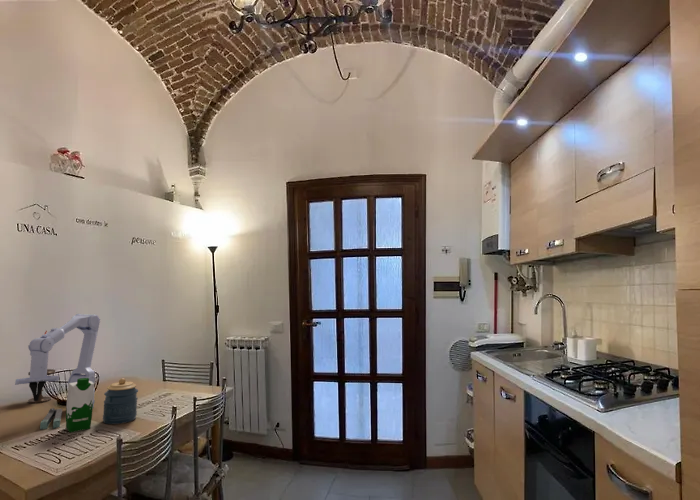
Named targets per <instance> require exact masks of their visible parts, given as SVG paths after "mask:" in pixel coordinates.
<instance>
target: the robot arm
mask: <svg viewBox="0 0 700 500" xmlns="http://www.w3.org/2000/svg"><path fill="white" fill-rule="evenodd" d="M100 323H101V319H100V317H99V315H98V314H97V313H94V314H91V313H90V314H84V313H76V314H75V315H72V317H71V319H70V320H68V321H67V322H66V323H64V324H63V325H62V326H60V327H59V328H58V327H52V328H51V329H50V330H49V331H47V332H46V334H45V333H44V334H42V335H41V336H40V337H35V338H33V339H32V340H31V341H30V343H29V345H27V348H28V350H29V355H30V356H31V358H30V367H29V368H30V369H29V372H30V375H29V377H23V378H17V379H15V382H14V383H15V384H14V385H15V386H17V385H27V384H28V387H29V388H30V391H31V393H32V396H33V398H34V401H38V399H39V395H40V392H41V390H43V389H42V388H44V387H45V385H46V382H59V381H60V375H47V369H48V363H49V352H50V351H51V350H52V349H53V347H54V346H55V344H57V343H58V342H60V341H61V340H63V339H64V338H65V335H66V334H68V333H69V332H71V331H73V330H75V329H78V330H79V331H80V332H81V333H83V338H82V339H83V340H82V343H81V348H80V353H79V358H78V363H77V366H76V368H75V369H73V370H72V371H71V374H70V376H69V377H68V381H67V385H68V386H69V383H74V382H77V379H80V378H89V381H92V382H93V383H94V384H95V382H96V378H95V376H96V375H95V374H96V372H95V371H94V370H93V369H92V361H93V357H94V353H95V352H94V351H95V348H96V343H97V336H98V331H99V328H100ZM42 380H43V381H42ZM94 392H95V387H94ZM95 403H96V402H95V396H94V397H93V406H94V404H95Z"/></svg>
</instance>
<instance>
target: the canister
mask: <svg viewBox="0 0 700 500" xmlns="http://www.w3.org/2000/svg"><path fill="white" fill-rule="evenodd" d="M136 387H137V384H136V383H134V382H133V381H127V380H126V378H124V377H121V378H120V379H119V380H118V382H117V381H116V382H113V383H111V384H110V385H109V386H107V387H106V389H107V391H105V392H104V396H105V397H104V398H105V399H104V400H103V414H102V422H103V423H104V424H107V425H120V424H126V423H130V422H132V421H134V420H135V419H136V418H137V415H138V411H137V409H138V408H137V407H138V396H137V394H138V392H139V389H137V388H136Z"/></svg>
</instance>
